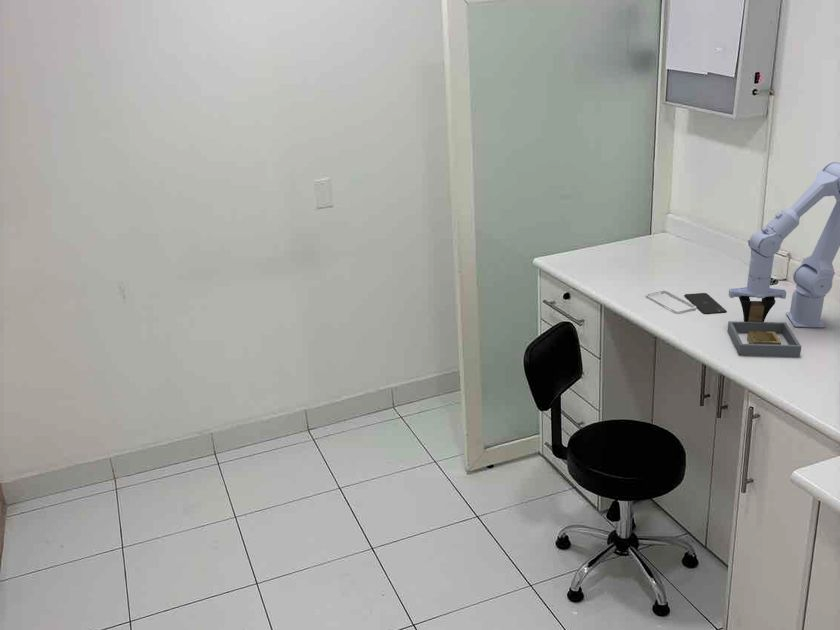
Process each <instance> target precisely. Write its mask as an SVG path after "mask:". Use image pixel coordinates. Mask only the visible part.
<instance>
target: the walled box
mask: <svg viewBox="0 0 840 630" xmlns="http://www.w3.org/2000/svg"><path fill="white" fill-rule="evenodd" d="M726 331H727V334H728V336H729V338H730V340H731V342H732V345H733V347H734V348H736V349H735V351H736V350H737V351H736V353H737V355H738V356H742V355H743V356H744V357H745V356H747V357H748V356H749V357H782V358H783V357H784V358H801V353H802V345H801V344H800V342H799V340H798V338H797V337H796V336H795V334H794V333H793V330H791V328H790V326H789V325H788V323H787V322H778V321H774V322H772V321H771V322H769V321H764V322H744V321H736V320H735V321H728V322H727V330H726ZM748 331H764V332H775V333H776V335H779V334H780V335H782V336H783V337H784V339H785V340H786V342H787V344H781V345H774V344H749V343H743V342H742V340H741V336H740V335H739V333H740V334H748ZM737 332H738V333H737Z"/></svg>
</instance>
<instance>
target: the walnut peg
mask: <svg viewBox="0 0 840 630" xmlns="http://www.w3.org/2000/svg"><path fill="white" fill-rule="evenodd" d="M750 302H751V306H750V310H749V318H748V322H762V320H763V313H764V305H763V303H762V300H750Z"/></svg>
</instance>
